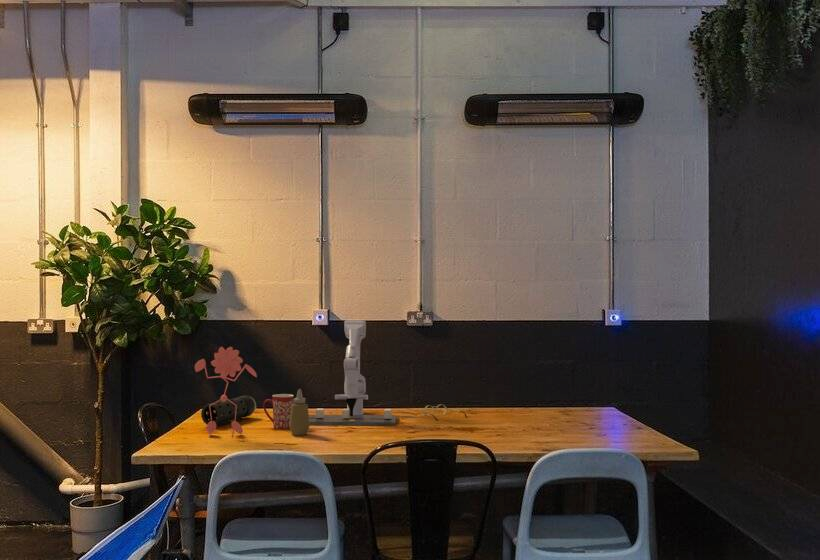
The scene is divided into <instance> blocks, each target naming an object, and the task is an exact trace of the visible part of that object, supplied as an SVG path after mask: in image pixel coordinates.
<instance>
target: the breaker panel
mask: <svg viewBox="0 0 820 560" xmlns="http://www.w3.org/2000/svg"><path fill="white" fill-rule="evenodd" d="M397 420H398V415H396V414H395V415H394V414H392V417H391V419H384V414H382V415H381V414H380V415H379V414H378V415H377V414H373V415H372V414H363V415H353V416H350V417H349V418H342V414H324V417H323V418H316V414H309V424H310V426H350V427H351V426H355V427H356V426H358V427H361V426H363V427H364V426H365V427H366V426H370V427H373V426H376V427H395V425H396V423H397Z"/></svg>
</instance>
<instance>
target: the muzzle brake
mask: <svg viewBox="0 0 820 560" xmlns="http://www.w3.org/2000/svg"><path fill="white" fill-rule="evenodd" d="M229 400H230V401H231V402H233V403H234V404H236V405H234V404H233V403H231V402H230V401H228V400H227V401H225V402H223V401H221V400H220V401H218V402H216V401H215V402H216V403H215V402H212V403H207V404H205V405H204V406H203V407H202V409H201V413H200V415H201V419H202V421H203V423H204V424H205V425H206V426H207V425H208V423H209V422H211V416H212V422H213V421H214V422H215V423H216V427H217V426H222V425H225V424H227V423H228V424H229V423H230V422H233V421H235V411H236V422H238V421H242V420H243V418H247V417H250V416H252V414H254V412H255V411H256V409H257V404H256V403H257V402H256V400H255V399H254V398H253V397H252V396H250V395H241V396H237V397H236V398H230V399H229ZM213 403H215V404H213ZM211 404H213V405H211ZM210 405H211V406H210ZM209 406H210V408H209ZM236 406H237V410H236ZM210 409H211V416H210Z"/></svg>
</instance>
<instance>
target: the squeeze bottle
mask: <svg viewBox="0 0 820 560" xmlns="http://www.w3.org/2000/svg"><path fill="white" fill-rule="evenodd" d="M309 415H310V414H309V406H308V403H306V397H303V391H302V389H301V388H299V389H298V390H297V393H296V397H295V398H294V397H293V404H292V405H291V413H290V423H289V427H290V428H289V430H290V432H291V435H292V436H297V437H299V436H302V437H303V436H306V435H308V432H309V429H310V426H311V425H310V424H309Z"/></svg>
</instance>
